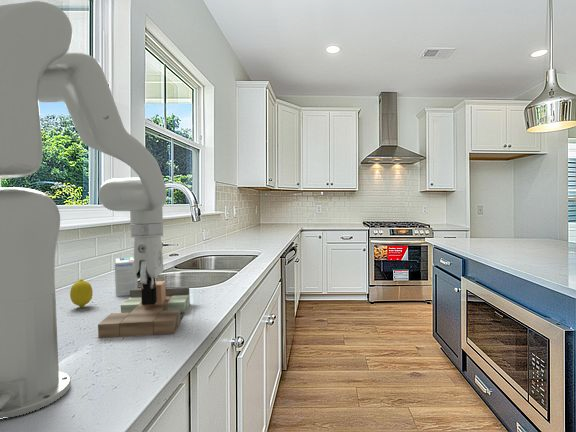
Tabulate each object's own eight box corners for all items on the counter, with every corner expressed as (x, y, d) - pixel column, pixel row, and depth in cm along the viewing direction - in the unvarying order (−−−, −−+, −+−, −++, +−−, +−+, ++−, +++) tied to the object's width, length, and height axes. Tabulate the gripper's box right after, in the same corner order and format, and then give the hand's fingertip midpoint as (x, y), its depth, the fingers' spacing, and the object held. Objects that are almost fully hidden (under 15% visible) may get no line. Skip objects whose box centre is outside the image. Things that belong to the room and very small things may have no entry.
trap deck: (174, 333, 81) (173, 311, 81) (98, 338, 79) (97, 315, 79) (189, 304, 105) (189, 286, 105) (131, 306, 103) (131, 289, 103)
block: (161, 304, 94) (161, 285, 94) (141, 305, 94) (140, 286, 94) (165, 299, 99) (165, 280, 99) (146, 300, 99) (146, 281, 99)
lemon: (83, 310, 100) (82, 281, 100) (65, 309, 101) (64, 281, 101) (97, 305, 106) (96, 277, 105) (80, 304, 107) (79, 277, 107)
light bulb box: (115, 289, 125) (114, 258, 124) (137, 287, 128) (136, 256, 127) (115, 296, 115) (114, 262, 115) (138, 294, 118) (137, 261, 117)
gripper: (155, 232, 84) (157, 311, 85) (168, 228, 99) (170, 295, 99) (121, 233, 83) (124, 313, 84) (139, 228, 98) (142, 296, 99)
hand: (149, 303), depth 92 cm, fingers closed
